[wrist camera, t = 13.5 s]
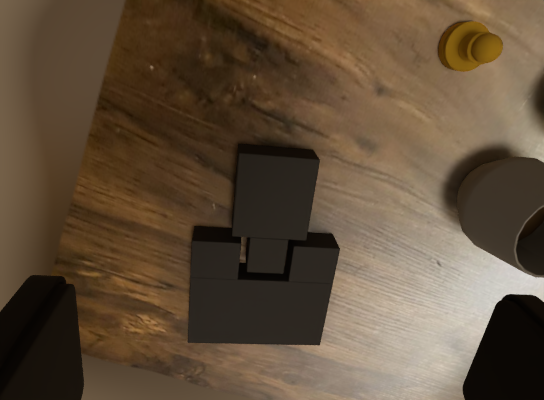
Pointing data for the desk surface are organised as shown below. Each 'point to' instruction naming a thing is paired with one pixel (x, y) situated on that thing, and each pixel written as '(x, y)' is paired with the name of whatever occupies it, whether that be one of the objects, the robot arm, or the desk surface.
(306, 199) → the black pad
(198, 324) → the base pad
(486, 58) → the chess piece
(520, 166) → the cup
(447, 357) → the desk surface
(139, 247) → the desk surface
